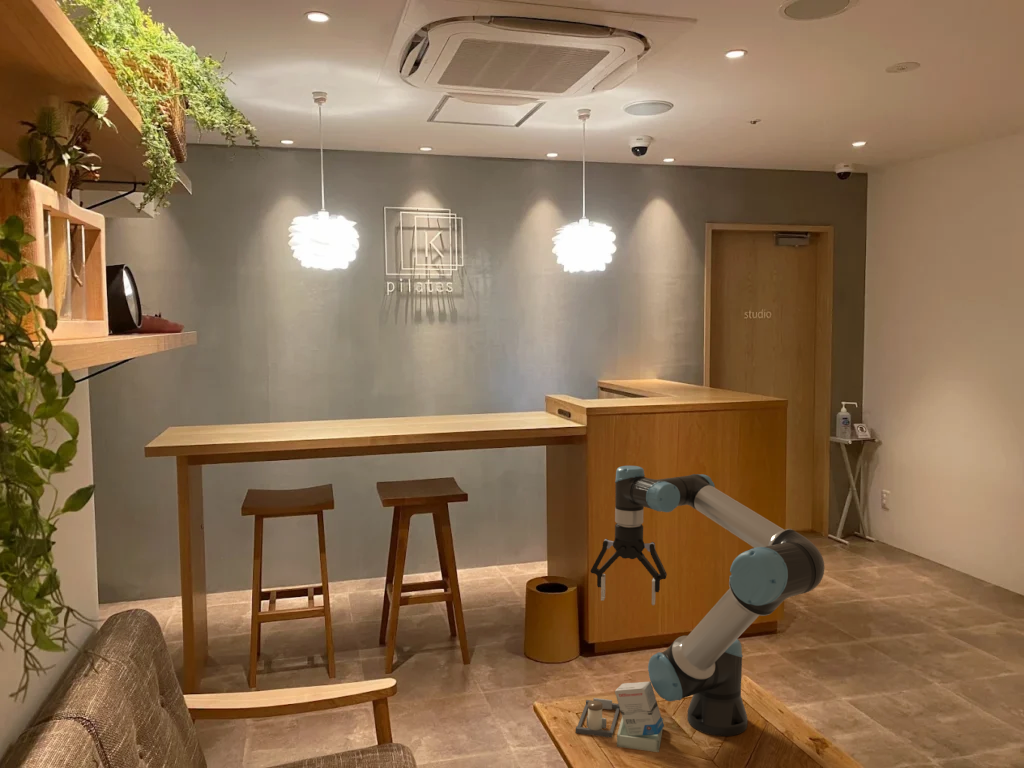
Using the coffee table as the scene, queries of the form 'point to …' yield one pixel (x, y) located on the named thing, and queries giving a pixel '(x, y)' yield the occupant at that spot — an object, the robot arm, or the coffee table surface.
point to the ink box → (639, 709)
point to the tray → (638, 740)
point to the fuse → (595, 715)
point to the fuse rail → (605, 733)
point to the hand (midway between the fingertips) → (628, 601)
